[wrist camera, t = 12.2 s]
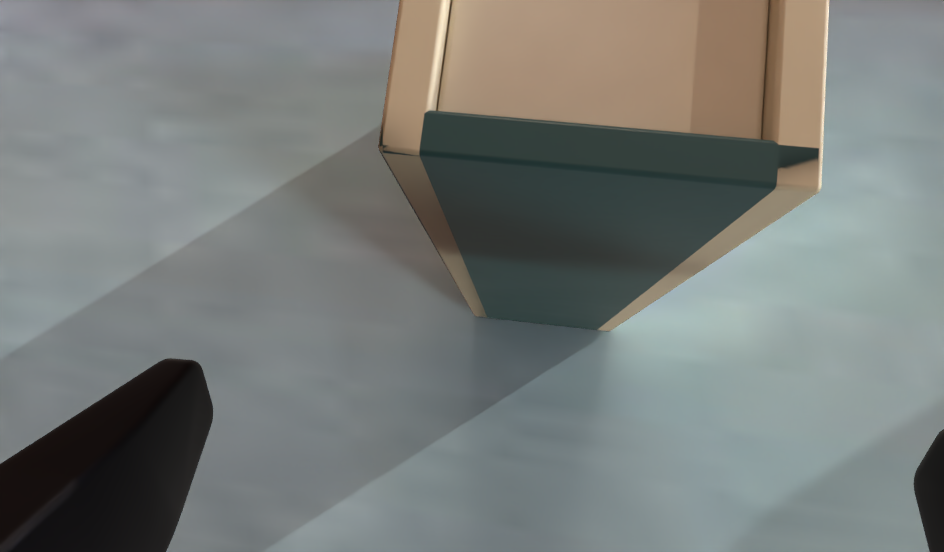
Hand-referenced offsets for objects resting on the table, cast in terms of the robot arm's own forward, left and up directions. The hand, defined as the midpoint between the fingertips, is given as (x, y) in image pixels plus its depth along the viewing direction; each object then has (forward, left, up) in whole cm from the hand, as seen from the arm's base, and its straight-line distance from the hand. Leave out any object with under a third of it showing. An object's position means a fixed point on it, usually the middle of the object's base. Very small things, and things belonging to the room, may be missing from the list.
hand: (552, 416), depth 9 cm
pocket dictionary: (+5, -3, -9) cm, 11 cm away
